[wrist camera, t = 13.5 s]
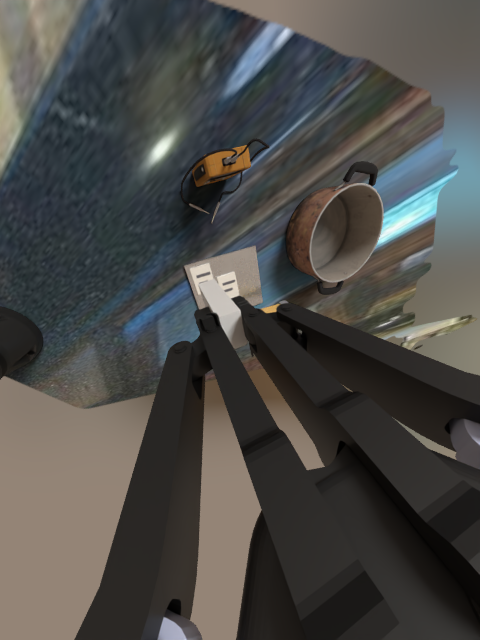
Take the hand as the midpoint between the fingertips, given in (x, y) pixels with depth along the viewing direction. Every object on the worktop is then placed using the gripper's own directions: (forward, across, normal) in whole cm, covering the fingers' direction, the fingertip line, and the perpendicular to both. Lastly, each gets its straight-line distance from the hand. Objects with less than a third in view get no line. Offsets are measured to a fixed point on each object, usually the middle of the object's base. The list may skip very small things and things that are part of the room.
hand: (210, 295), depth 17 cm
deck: (+32, +9, -13) cm, 36 cm away
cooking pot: (+33, +39, -6) cm, 51 cm away
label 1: (+32, +3, -9) cm, 34 cm away
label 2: (+32, +9, -13) cm, 36 cm away
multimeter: (+33, +11, +8) cm, 35 cm away
